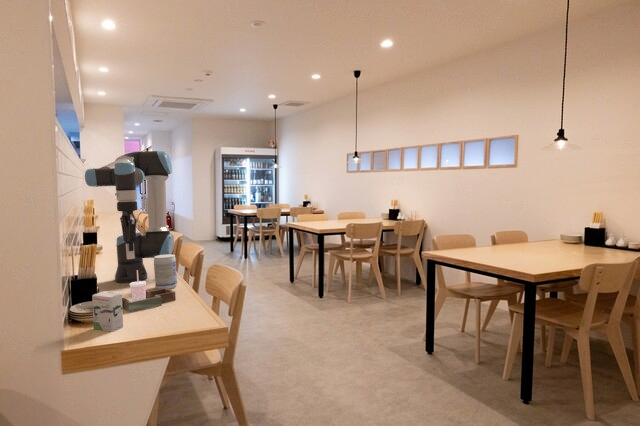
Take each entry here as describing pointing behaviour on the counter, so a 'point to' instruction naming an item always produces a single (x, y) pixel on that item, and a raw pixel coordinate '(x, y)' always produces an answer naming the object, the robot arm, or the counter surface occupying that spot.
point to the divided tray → (150, 300)
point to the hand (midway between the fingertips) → (130, 258)
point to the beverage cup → (138, 289)
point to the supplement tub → (165, 271)
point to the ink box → (107, 311)
